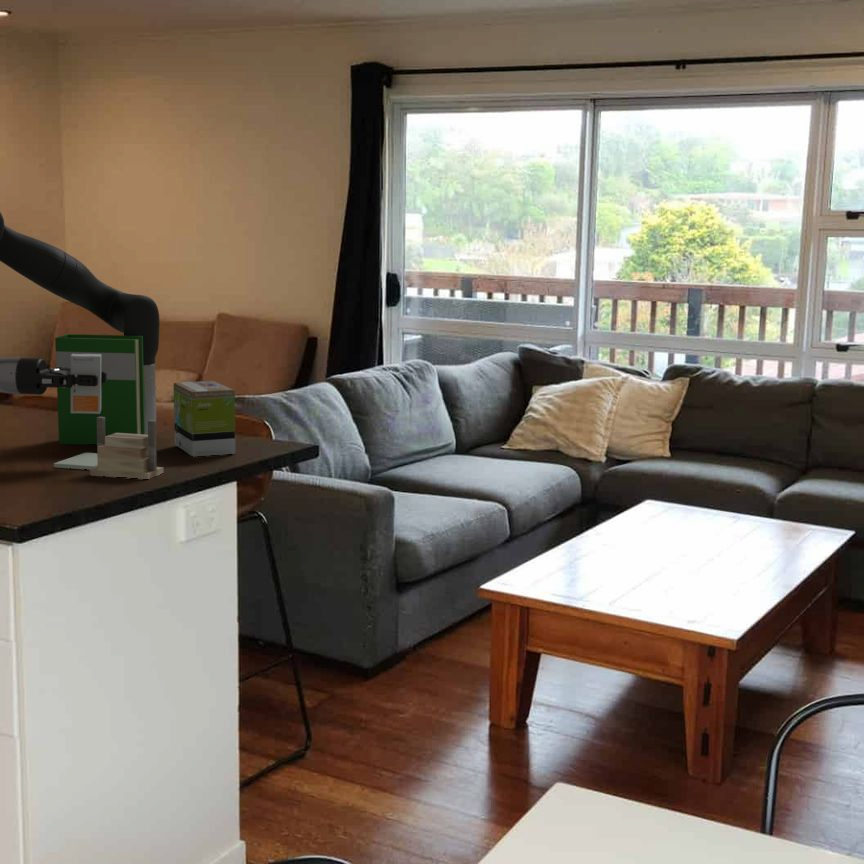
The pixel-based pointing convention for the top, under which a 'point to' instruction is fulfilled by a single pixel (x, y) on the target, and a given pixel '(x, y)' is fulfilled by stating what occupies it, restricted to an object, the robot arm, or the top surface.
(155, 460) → the offcut rack
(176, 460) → the top surface
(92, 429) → the hardback book
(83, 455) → the sage mat
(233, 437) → the tea box
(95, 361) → the skincare box
